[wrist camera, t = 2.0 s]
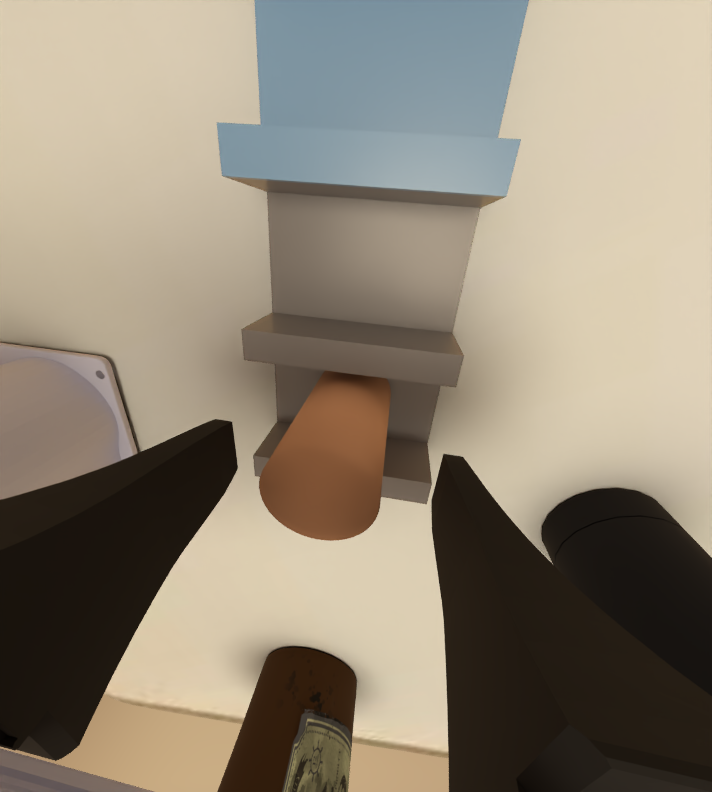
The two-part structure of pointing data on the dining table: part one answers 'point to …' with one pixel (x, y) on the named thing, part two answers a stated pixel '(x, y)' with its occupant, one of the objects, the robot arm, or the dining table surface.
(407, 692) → the dining table surface
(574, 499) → the wine bottle
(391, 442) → the grey slotted rack
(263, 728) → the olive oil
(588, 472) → the dining table surface
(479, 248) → the dining table surface
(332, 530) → the tan rounded cylinder
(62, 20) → the dining table surface
